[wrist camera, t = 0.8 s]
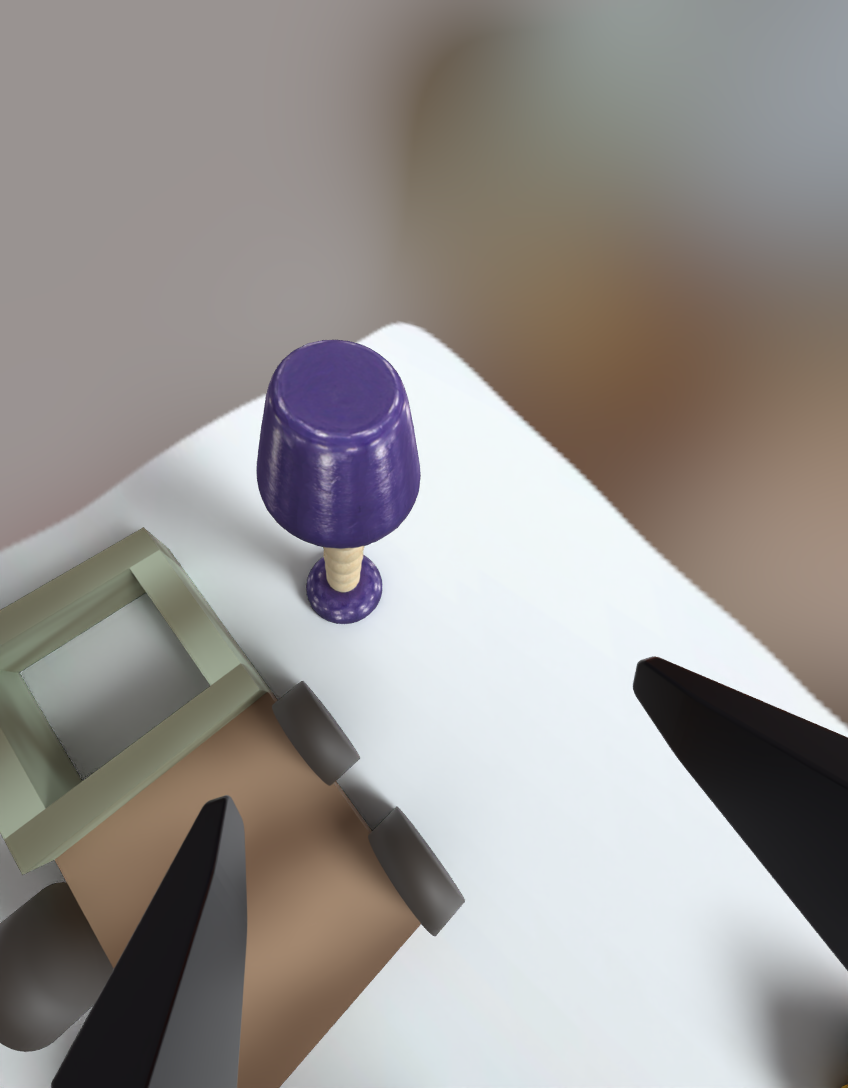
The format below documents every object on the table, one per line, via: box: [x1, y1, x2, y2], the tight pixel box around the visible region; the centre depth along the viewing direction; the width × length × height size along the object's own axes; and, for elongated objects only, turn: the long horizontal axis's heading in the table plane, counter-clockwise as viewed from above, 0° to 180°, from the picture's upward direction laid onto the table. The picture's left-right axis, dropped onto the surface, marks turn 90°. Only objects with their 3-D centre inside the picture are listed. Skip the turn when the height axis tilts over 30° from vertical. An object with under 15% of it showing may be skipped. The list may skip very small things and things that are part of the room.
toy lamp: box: [257, 340, 421, 624], centre depth 17 cm, size 5×5×17 cm
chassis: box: [0, 527, 465, 1088], centre depth 18 cm, size 22×13×4 cm, turn 41°
